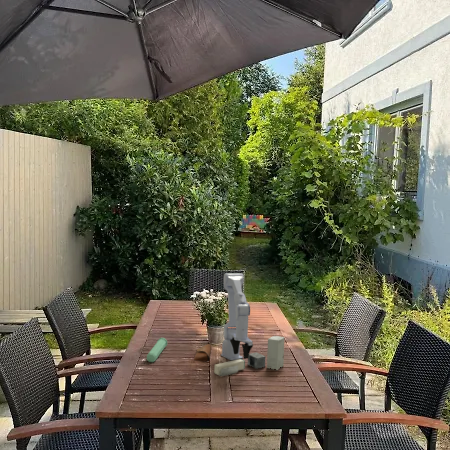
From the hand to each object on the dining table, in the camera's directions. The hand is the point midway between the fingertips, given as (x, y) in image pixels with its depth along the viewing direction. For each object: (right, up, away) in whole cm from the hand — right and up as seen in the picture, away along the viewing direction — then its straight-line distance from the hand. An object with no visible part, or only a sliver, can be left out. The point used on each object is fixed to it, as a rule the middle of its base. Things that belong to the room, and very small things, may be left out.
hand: (240, 356), depth 235 cm
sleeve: (-7, -7, -5) cm, 11 cm away
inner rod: (-6, -7, -3) cm, 9 cm away
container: (-44, -4, +18) cm, 47 cm away
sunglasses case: (-20, -6, +19) cm, 28 cm away
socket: (+8, -7, +7) cm, 12 cm away
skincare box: (+17, -7, +6) cm, 20 cm away
